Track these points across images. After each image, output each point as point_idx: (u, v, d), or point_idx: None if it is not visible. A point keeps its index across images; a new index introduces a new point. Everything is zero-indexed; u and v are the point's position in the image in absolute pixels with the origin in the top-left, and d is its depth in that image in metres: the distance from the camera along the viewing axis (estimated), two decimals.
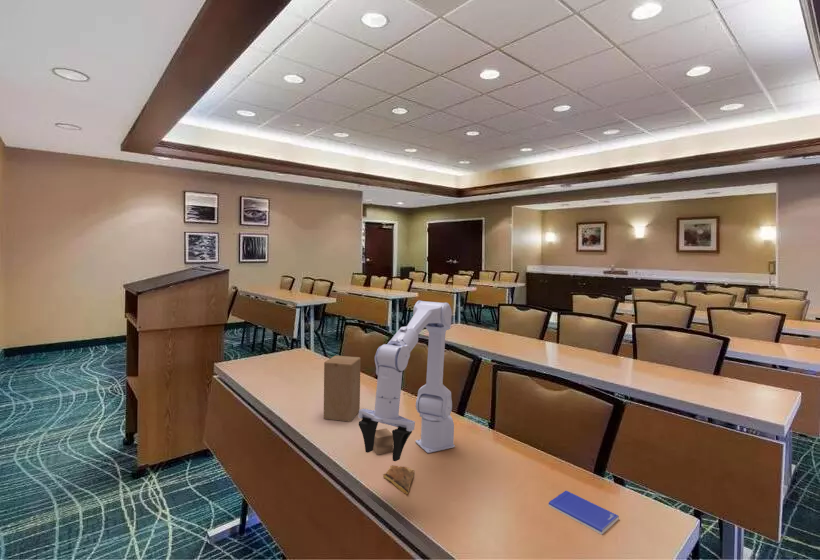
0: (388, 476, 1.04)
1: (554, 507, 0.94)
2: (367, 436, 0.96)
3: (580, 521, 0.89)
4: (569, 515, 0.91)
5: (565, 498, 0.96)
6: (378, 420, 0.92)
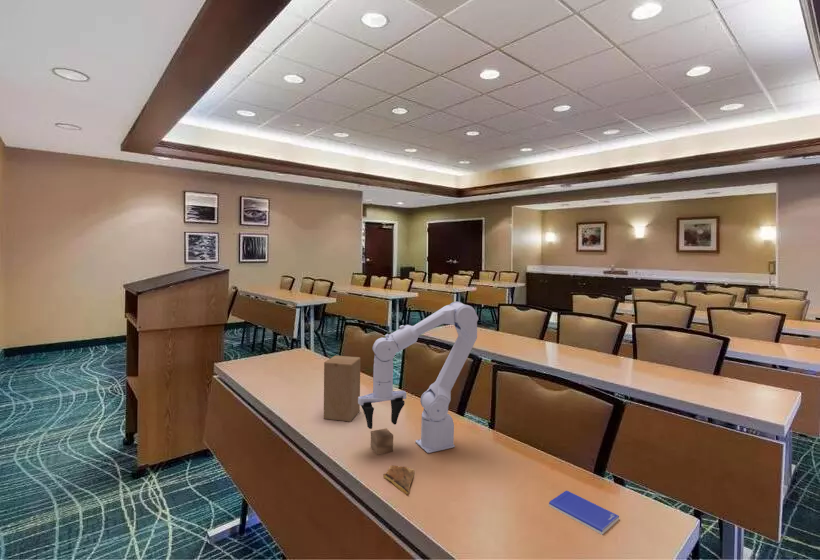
0: (388, 476, 1.04)
1: (554, 507, 0.94)
2: (391, 409, 1.23)
3: (580, 521, 0.89)
4: (569, 515, 0.91)
5: (565, 498, 0.96)
6: None
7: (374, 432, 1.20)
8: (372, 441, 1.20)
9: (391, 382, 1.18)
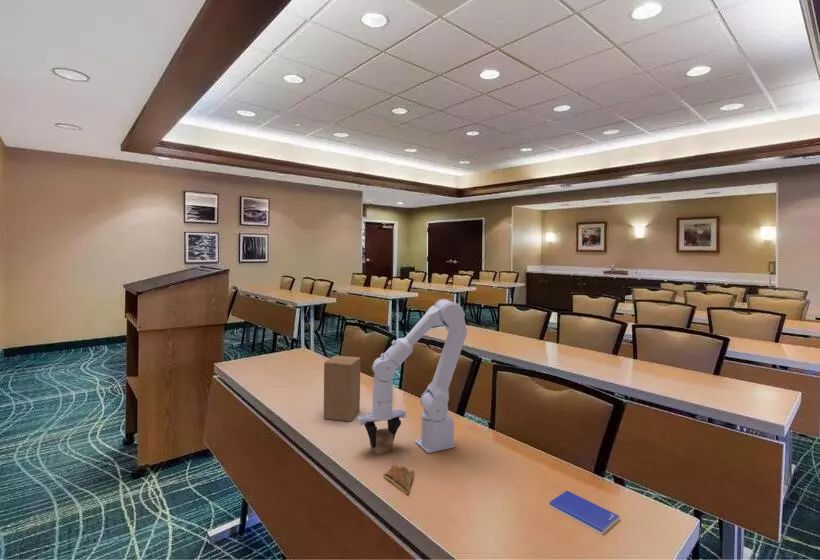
0: (388, 476, 1.04)
1: (555, 507, 0.94)
2: (388, 428, 1.23)
3: (581, 521, 0.89)
4: (570, 515, 0.91)
5: (566, 498, 0.96)
6: None
7: None
8: None
9: (391, 402, 1.18)
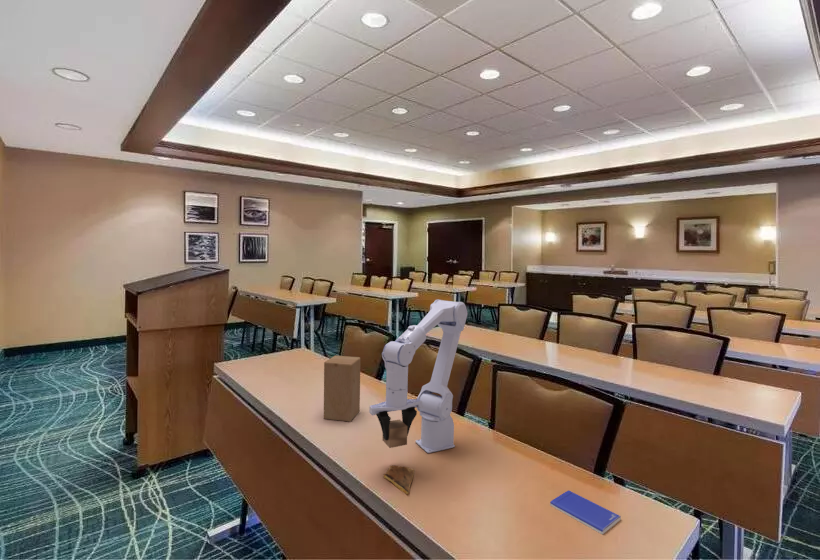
0: (388, 476, 1.04)
1: (556, 506, 0.94)
2: (402, 419, 1.12)
3: (581, 520, 0.89)
4: (570, 514, 0.91)
5: (567, 498, 0.97)
6: None
7: None
8: None
9: (406, 390, 1.08)
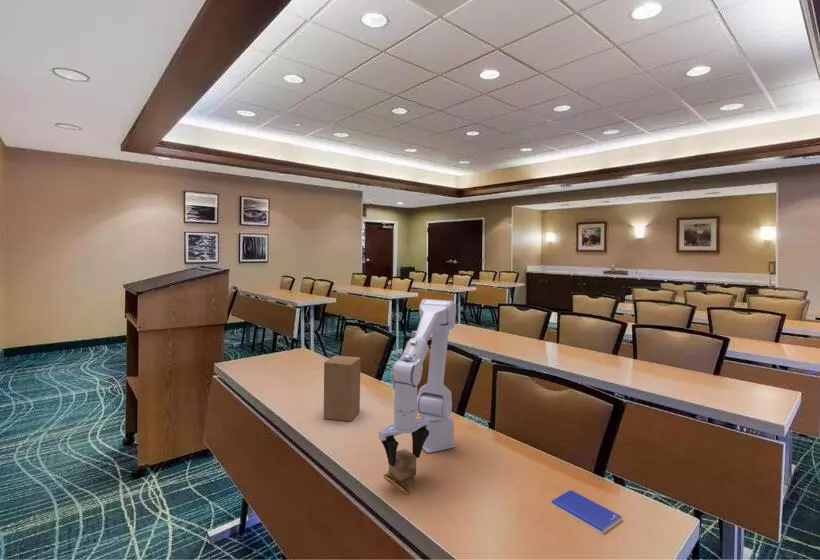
0: (388, 477, 1.04)
1: (557, 506, 0.94)
2: (413, 440, 1.08)
3: (582, 520, 0.89)
4: (571, 514, 0.91)
5: (568, 497, 0.97)
6: None
7: None
8: None
9: (416, 411, 1.03)
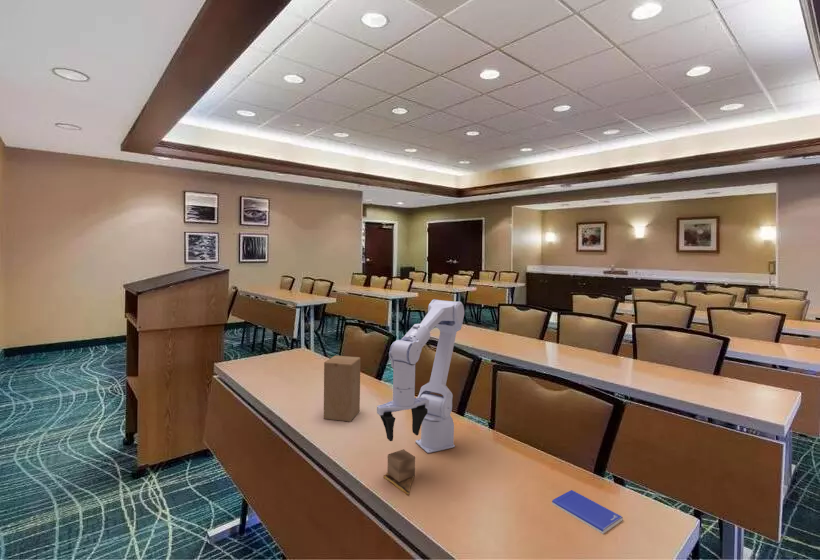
0: (388, 477, 1.04)
1: (557, 505, 0.95)
2: (412, 418, 1.11)
3: (582, 520, 0.89)
4: (571, 513, 0.92)
5: (569, 497, 0.97)
6: None
7: (392, 455, 1.04)
8: (390, 466, 1.04)
9: (413, 389, 1.06)
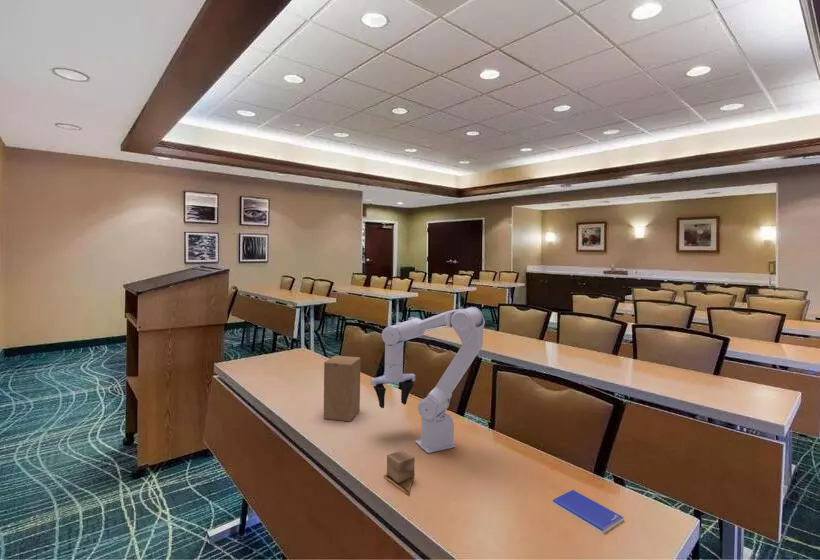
0: (388, 477, 1.04)
1: (558, 505, 0.95)
2: (401, 390, 1.33)
3: (582, 519, 0.90)
4: (572, 513, 0.92)
5: (570, 497, 0.97)
6: None
7: (391, 456, 1.04)
8: (390, 467, 1.04)
9: (401, 365, 1.28)
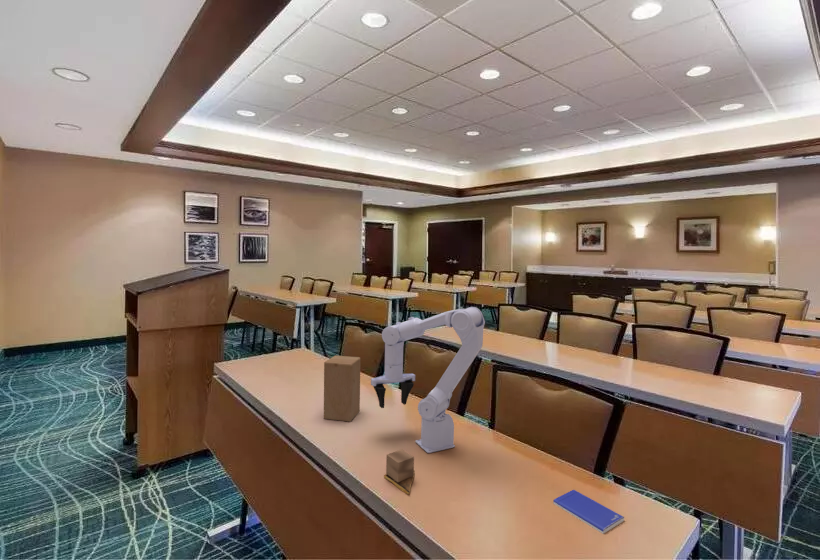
0: (389, 477, 1.04)
1: (558, 505, 0.95)
2: (401, 390, 1.33)
3: (583, 519, 0.90)
4: (572, 513, 0.92)
5: (571, 497, 0.97)
6: None
7: (391, 455, 1.04)
8: (389, 466, 1.04)
9: (401, 365, 1.28)
